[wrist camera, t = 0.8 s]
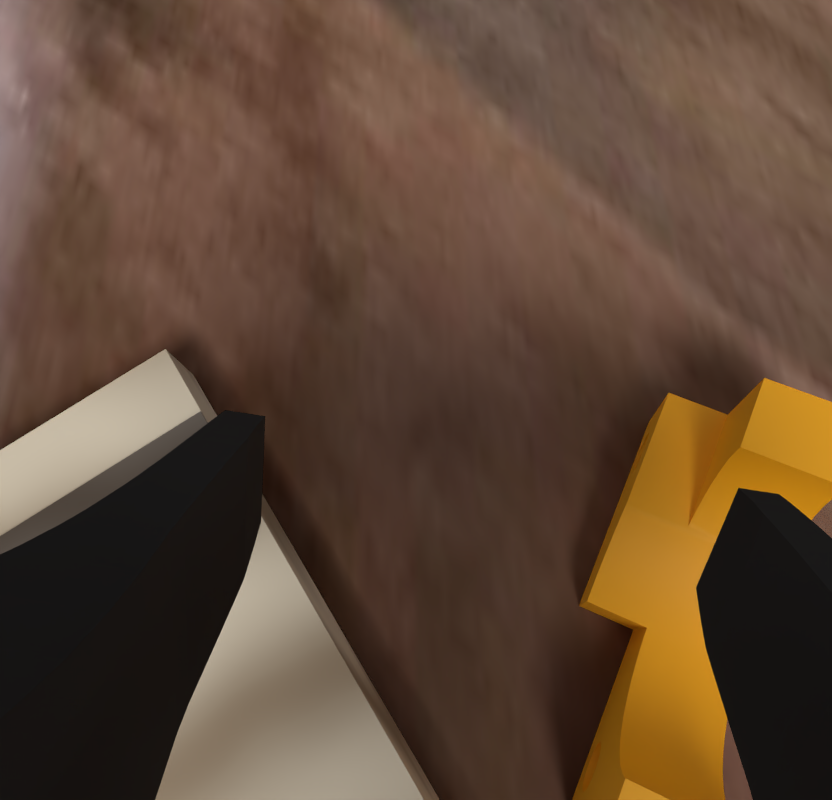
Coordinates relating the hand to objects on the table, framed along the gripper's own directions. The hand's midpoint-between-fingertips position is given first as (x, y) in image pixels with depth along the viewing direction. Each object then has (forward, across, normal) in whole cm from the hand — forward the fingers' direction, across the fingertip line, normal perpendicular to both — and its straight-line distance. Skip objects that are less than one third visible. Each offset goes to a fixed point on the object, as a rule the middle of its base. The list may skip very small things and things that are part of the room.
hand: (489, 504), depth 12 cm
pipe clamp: (+8, -7, +10) cm, 15 cm away
